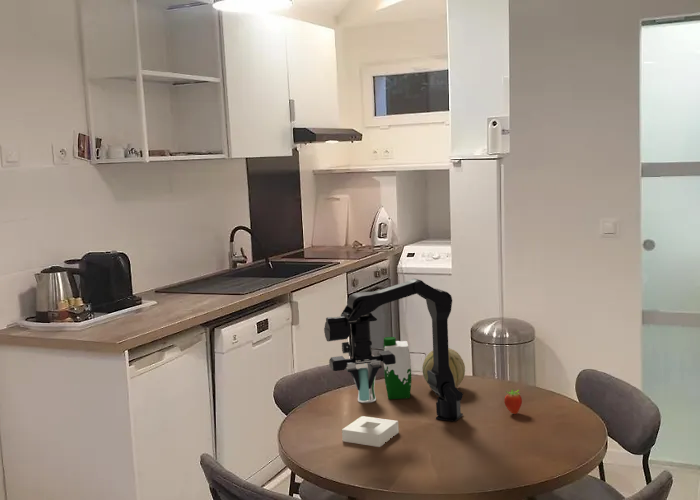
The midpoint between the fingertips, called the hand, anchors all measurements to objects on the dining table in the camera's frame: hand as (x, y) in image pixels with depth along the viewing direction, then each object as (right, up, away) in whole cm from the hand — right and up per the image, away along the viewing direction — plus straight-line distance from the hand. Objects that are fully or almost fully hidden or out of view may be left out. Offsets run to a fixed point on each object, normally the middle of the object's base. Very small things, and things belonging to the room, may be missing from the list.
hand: (363, 389), depth 218 cm
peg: (0, -3, 0) cm, 3 cm away
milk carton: (+12, -9, +34) cm, 37 cm away
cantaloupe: (+28, -7, +37) cm, 47 cm away
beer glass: (+2, -10, +31) cm, 32 cm away
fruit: (+46, -10, +10) cm, 48 cm away
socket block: (+2, -13, -3) cm, 14 cm away
